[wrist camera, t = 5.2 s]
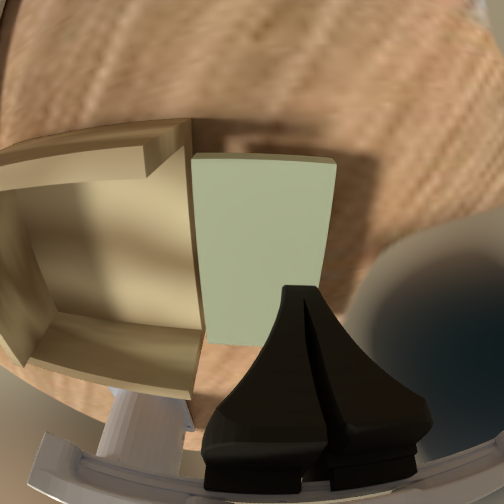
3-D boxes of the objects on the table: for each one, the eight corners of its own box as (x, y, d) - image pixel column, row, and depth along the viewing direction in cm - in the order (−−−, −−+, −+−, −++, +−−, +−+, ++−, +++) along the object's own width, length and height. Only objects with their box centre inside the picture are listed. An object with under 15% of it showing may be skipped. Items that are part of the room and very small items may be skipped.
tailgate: (211, 323, 18) (303, 327, 18) (207, 343, 17) (305, 347, 16) (199, 149, 12) (329, 154, 12) (190, 159, 11) (337, 164, 11)
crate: (206, 323, 20) (188, 415, 14) (62, 306, 20) (21, 373, 14) (191, 117, 13) (128, 154, 7) (12, 144, 13) (-69, 190, 7)
